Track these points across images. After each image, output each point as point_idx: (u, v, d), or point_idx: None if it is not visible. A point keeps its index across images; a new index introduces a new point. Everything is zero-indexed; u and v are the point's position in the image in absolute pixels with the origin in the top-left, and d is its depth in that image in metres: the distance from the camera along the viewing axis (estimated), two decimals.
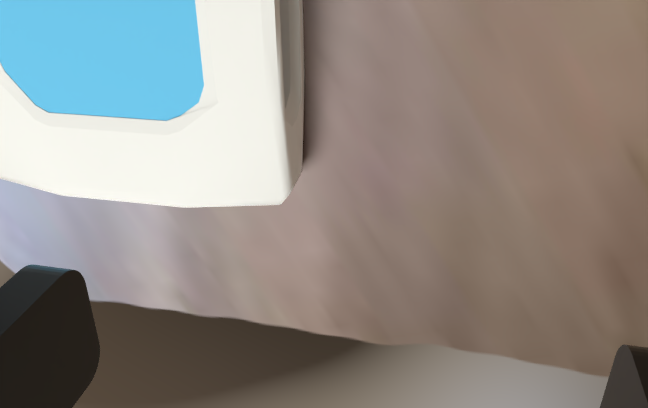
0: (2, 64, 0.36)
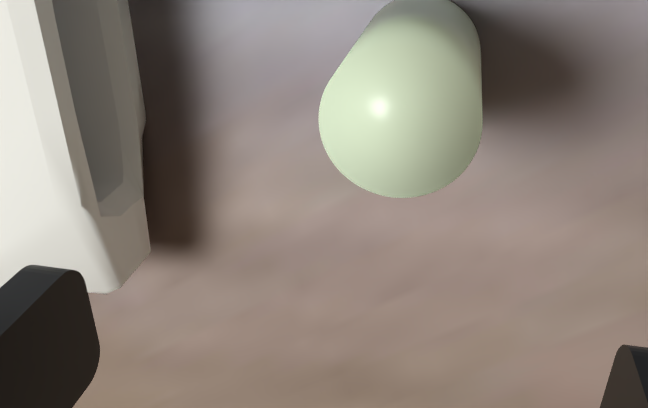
0: None
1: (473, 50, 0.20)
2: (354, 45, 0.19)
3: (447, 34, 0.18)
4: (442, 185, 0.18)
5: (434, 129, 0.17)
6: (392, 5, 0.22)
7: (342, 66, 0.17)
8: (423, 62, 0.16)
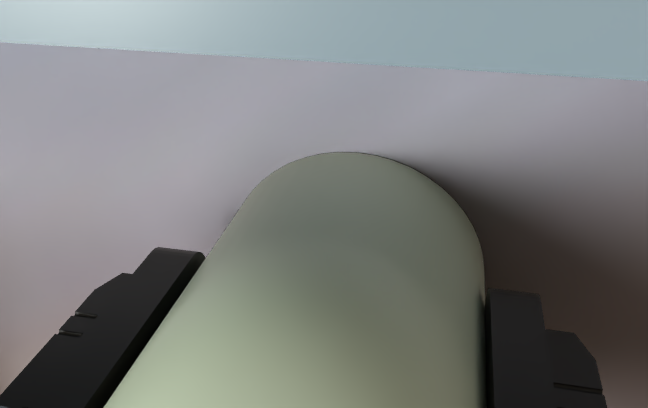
0: None
1: (466, 381, 0.07)
2: (122, 383, 0.07)
3: None
4: None
5: None
6: (276, 193, 0.09)
7: None
8: None
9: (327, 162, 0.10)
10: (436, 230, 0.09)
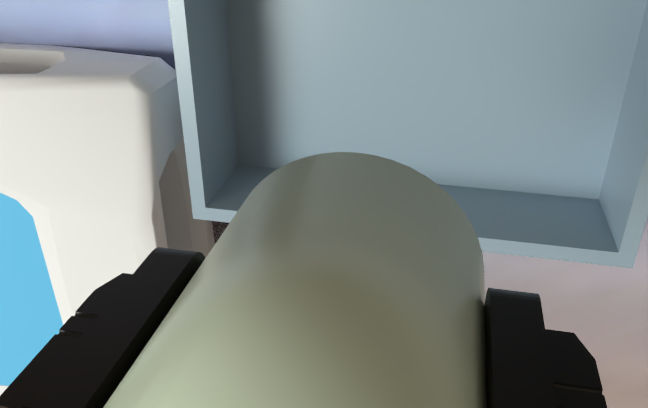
0: None
1: (466, 380, 0.07)
2: (122, 382, 0.07)
3: None
4: None
5: None
6: (276, 193, 0.09)
7: None
8: None
9: (327, 162, 0.10)
10: (436, 229, 0.09)
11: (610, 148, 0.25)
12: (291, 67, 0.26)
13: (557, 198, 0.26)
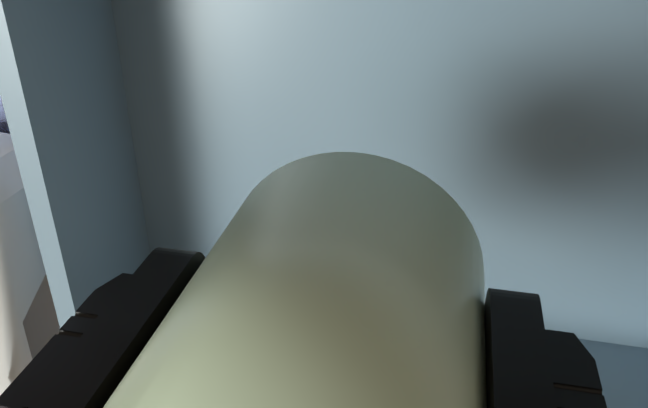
0: None
1: (466, 380, 0.07)
2: (122, 382, 0.07)
3: None
4: None
5: None
6: (276, 193, 0.09)
7: None
8: None
9: (327, 162, 0.10)
10: (436, 229, 0.09)
11: None
12: (217, 157, 0.18)
13: (599, 348, 0.18)
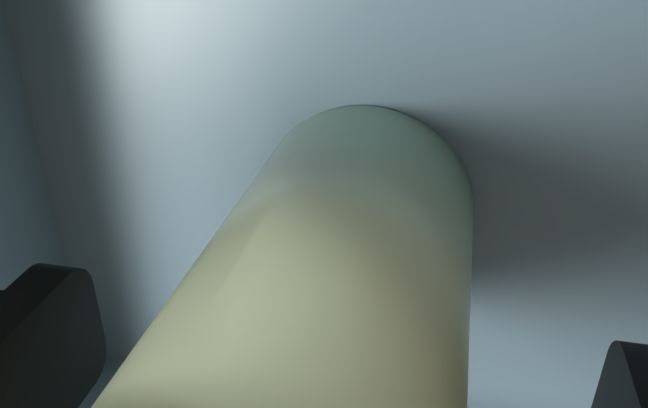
0: None
1: (455, 269, 0.09)
2: (200, 257, 0.09)
3: (393, 271, 0.08)
4: None
5: None
6: (309, 134, 0.12)
7: (111, 392, 0.07)
8: None
9: (350, 112, 0.12)
10: (436, 166, 0.11)
11: None
12: (153, 220, 0.15)
13: None
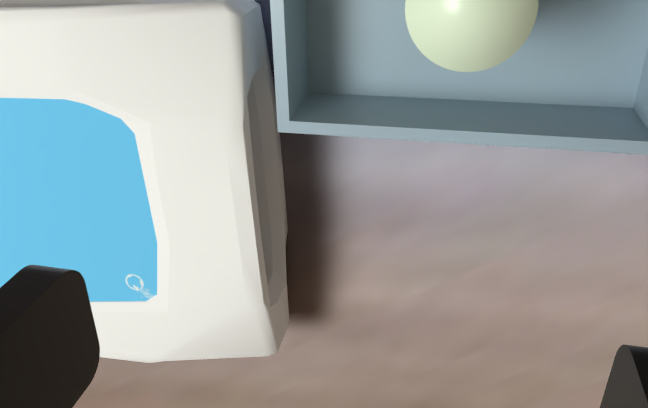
0: None
1: None
2: None
3: None
4: (500, 61, 0.22)
5: (499, 12, 0.22)
6: None
7: None
8: None
9: None
10: None
11: (643, 60, 0.28)
12: None
13: (596, 108, 0.30)
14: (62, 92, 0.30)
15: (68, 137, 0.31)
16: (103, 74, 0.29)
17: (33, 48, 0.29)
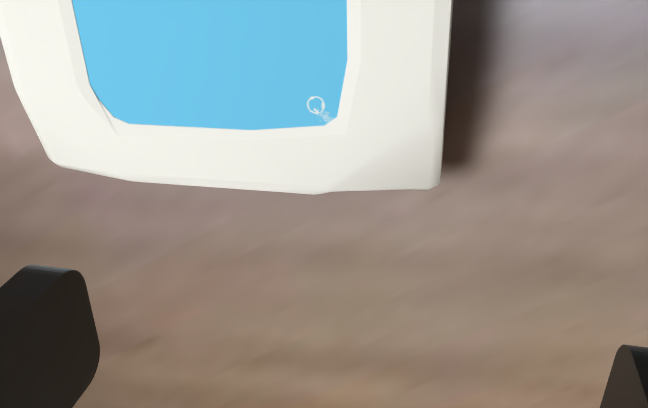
0: None
1: None
2: None
3: None
4: None
5: None
6: None
7: None
8: None
9: None
10: None
11: None
12: None
13: None
14: None
15: None
16: None
17: None
